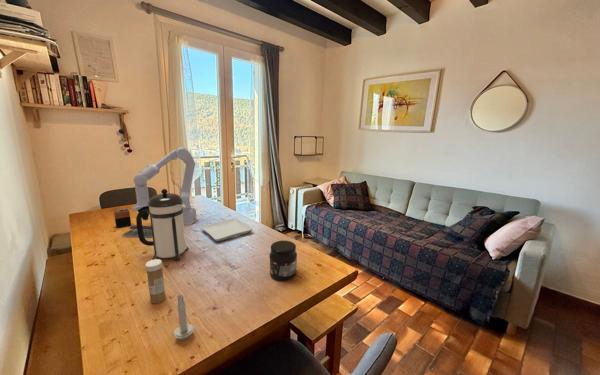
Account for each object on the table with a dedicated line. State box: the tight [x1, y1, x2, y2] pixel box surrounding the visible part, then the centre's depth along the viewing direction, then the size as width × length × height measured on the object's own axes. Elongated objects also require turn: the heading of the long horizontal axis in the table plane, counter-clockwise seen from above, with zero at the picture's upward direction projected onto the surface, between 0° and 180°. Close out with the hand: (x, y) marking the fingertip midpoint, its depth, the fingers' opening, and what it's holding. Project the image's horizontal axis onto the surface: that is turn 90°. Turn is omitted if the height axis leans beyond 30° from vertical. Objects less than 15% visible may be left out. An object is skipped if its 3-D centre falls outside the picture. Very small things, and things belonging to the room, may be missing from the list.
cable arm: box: [129, 223, 152, 230], centre depth 132 cm, size 14×4×4 cm, turn 87°
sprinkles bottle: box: [144, 258, 167, 304], centre depth 80 cm, size 5×5×13 cm
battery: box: [113, 207, 132, 229], centre depth 139 cm, size 4×7×10 cm, turn 130°
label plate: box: [121, 229, 153, 239], centre depth 133 cm, size 15×13×1 cm
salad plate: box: [200, 217, 254, 242], centre depth 135 cm, size 21×21×3 cm
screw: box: [173, 294, 195, 342], centre depth 66 cm, size 13×5×5 cm
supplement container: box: [269, 240, 298, 282], centre depth 96 cm, size 10×10×12 cm
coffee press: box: [135, 188, 189, 262], centre depth 106 cm, size 17×16×30 cm
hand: (145, 219), depth 138 cm, fingers closed
